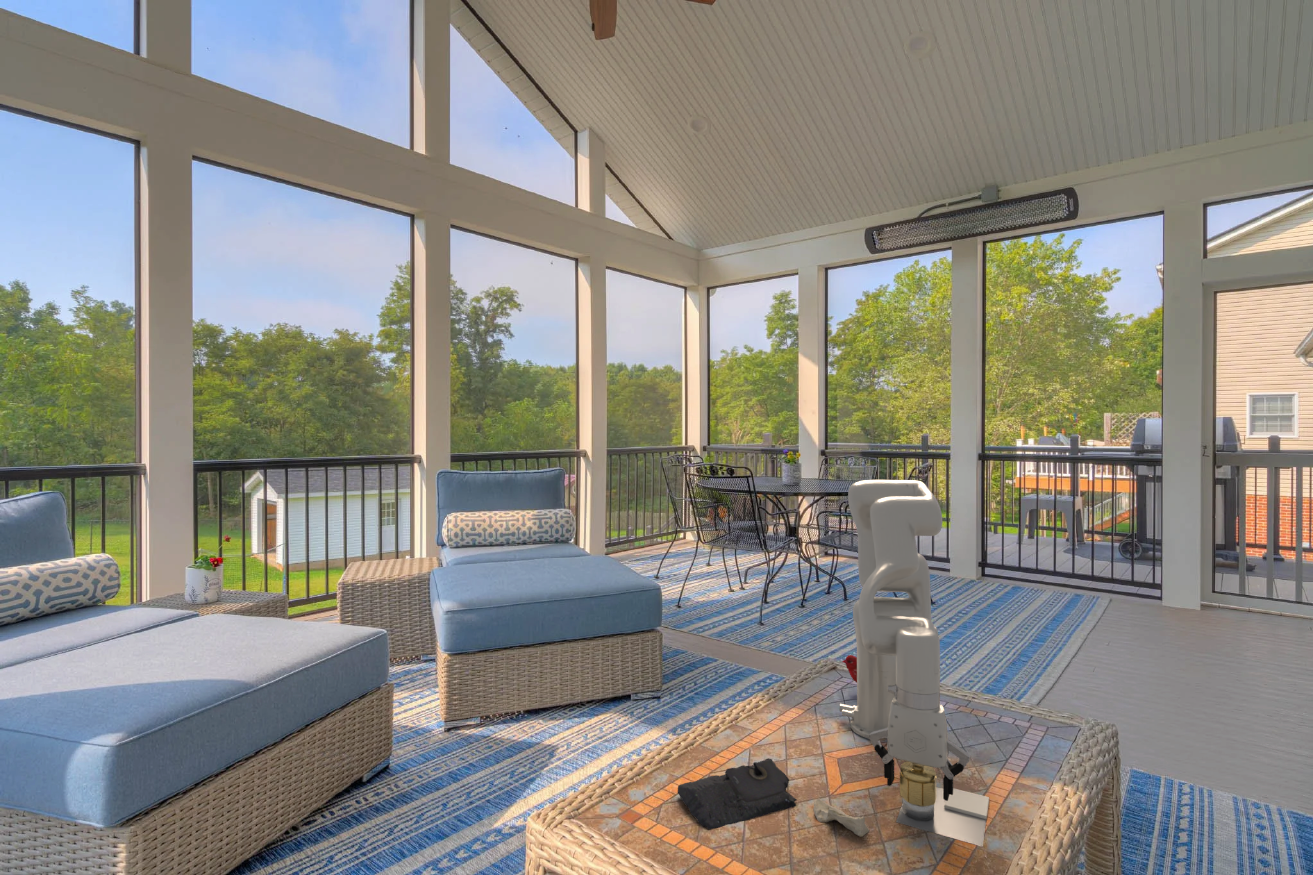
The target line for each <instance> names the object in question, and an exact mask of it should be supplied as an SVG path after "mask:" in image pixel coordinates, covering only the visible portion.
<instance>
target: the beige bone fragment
mask: <svg viewBox="0 0 1313 875" xmlns="http://www.w3.org/2000/svg"><path fill="white" fill-rule="evenodd" d="M812 809H813V813H814V815H815V817H816V820H817V821H818V822H820V823H828V822H832V821H837V822H839V824H841V825H842V826H844V827H845V828H846V829H848V830H849V831H851V832H853V834H855V835H857V836H858V837H861V838H863V836H865V835H866V834H867V833H869V832H870V829H869V827H868V825H867V824H866V820H865V818H866V817H865V816H864V815H863V816H855V817H854V816H851V815H848V814H846V813H845V812H844V811H843V810H841V809H840V808H838V807H835V806H832V805H830V804H829V803H827V802H826V801H825V800H822V799H820V798H817V799H815V801H813V808H812Z"/></svg>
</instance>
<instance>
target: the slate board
mask: <svg viewBox="0 0 1313 875" xmlns="http://www.w3.org/2000/svg"><path fill="white" fill-rule="evenodd" d="M945 801H946V800H945V799H943V788H941V787H937V786H936V802H935V804H934V818H933V819H932V820H930V821H917V820H913V819H911V818H909V817H907V816H906V815H905V814H904V813H903V810H902V805H901V807H900V809H899V813H898V816H897V818H896V821H895V823H898V824H901V825H906V826H909V827H912V828H914V829H918V830H921V831H925V832H929V833H933V834H936V835H939V836H943V837H947V838H949V839H954V840H956V841H961V842H964V843H967V844H971V845H975V846H978V847H981V848H982V847H983V846H984V839H985V833H986V832H985V831H986V825H987V819H984V818H980V817H976V816H972V815H969V814H965V813H961V812H957V811H954V810H950V809H946V808H944V805H945Z"/></svg>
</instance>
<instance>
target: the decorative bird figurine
mask: <svg viewBox="0 0 1313 875" xmlns="http://www.w3.org/2000/svg"><path fill="white" fill-rule="evenodd" d="M841 663H844V664H845V667H846V668H847V670H848V673H849V675H850V677H851V679H852V680H853V681H854V682H855V683H856V684H857V656H855V655H852V654H849V655H847V656H846V657H845V659H844V660H842V661H841Z"/></svg>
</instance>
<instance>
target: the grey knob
mask: <svg viewBox="0 0 1313 875" xmlns="http://www.w3.org/2000/svg"><path fill="white" fill-rule="evenodd" d="M901 798H902V797H901ZM901 802H902V804H901V806H902V810H903V813H904V814H905V815H906V816H907V817H909V818H911V819H913V820H917V821H930V820H932V819H933V818H934V805H928V806H919V805H915V804H912V803H909V802H907V801H906V800H905V799H903V798H902V801H901Z"/></svg>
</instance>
